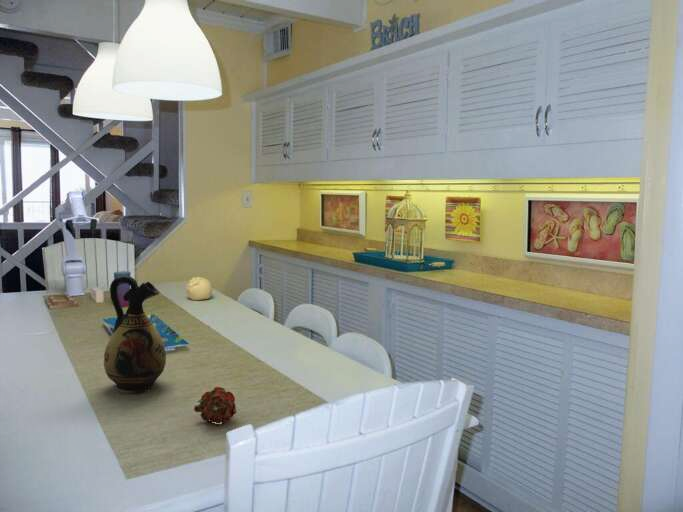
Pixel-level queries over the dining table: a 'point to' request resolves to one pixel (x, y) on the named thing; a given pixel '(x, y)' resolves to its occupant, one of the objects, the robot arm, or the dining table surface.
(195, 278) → the sculpture
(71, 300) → the rack
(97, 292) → the clay bar
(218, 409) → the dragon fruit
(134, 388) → the ceramic jug
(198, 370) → the dining table surface
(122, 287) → the cup
